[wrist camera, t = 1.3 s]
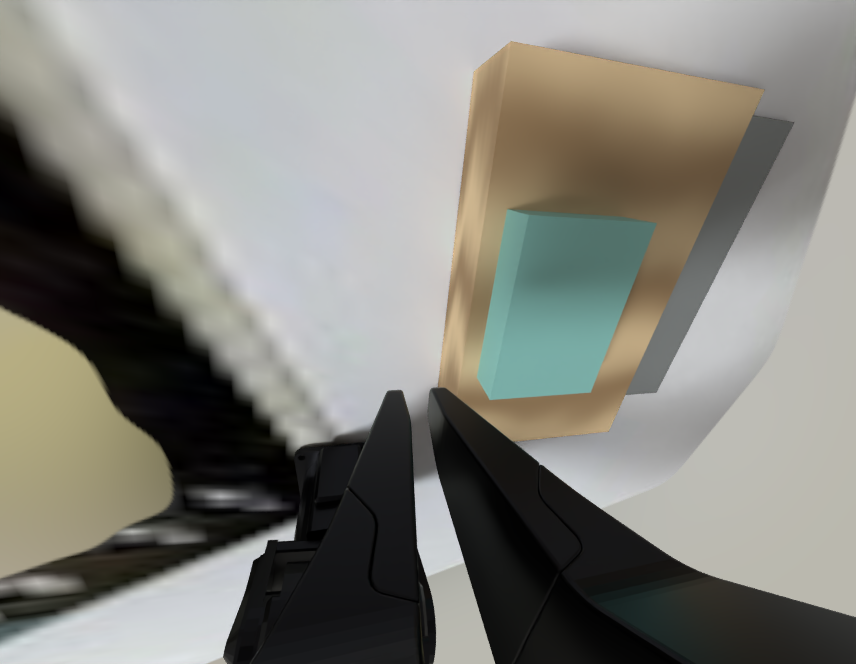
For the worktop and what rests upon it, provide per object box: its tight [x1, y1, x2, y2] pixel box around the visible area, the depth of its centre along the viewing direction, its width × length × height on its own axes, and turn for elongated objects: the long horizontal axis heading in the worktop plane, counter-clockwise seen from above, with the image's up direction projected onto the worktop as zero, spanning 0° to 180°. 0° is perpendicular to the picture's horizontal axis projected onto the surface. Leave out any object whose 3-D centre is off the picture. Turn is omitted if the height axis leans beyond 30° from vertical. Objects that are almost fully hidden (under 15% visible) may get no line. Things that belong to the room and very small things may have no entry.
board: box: [438, 41, 764, 442], centre depth 19 cm, size 20×12×4 cm, turn 175°
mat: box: [625, 116, 794, 395], centre depth 22 cm, size 20×8×1 cm, turn 175°
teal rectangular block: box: [477, 209, 657, 400], centre depth 16 cm, size 9×6×2 cm, turn 175°
